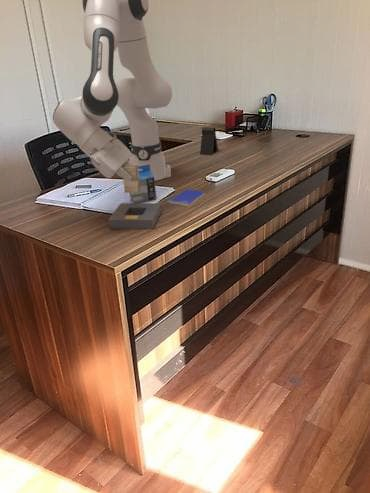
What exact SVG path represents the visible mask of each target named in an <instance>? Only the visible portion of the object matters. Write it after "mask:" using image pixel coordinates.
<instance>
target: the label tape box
mask: <svg viewBox="0 0 370 493" xmlns="http://www.w3.org/2000/svg"><path fill="white" fill-rule="evenodd" d="M138 169H143V170H142V171H139V180H140V190H139V191H138V192H137V193H129V198H130V202H131V203H138V202H139V203H143V201H144V202H148V201H147V200H149V201H152V199H153V200H156V199H157V193H156V181H155V180H154V176H153V174H152V173H151V171H150V164H149V165H143V166H138Z"/></svg>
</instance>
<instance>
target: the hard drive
mask: <svg viewBox="0 0 370 493" xmlns="http://www.w3.org/2000/svg"><path fill="white" fill-rule="evenodd" d="M205 194H206V192H205V191H200V190H193V189H185V190H183V191H181V192H179V193H178V194H177V195H175V196H174V197H172V198H171V199H168V203H169V204H175V205H179V206H180V205H182V206H187V207H189V206H190V205H192V204H193V203H195V202H197V201H198V200H199V199H200V198H202V197H204V196H205Z"/></svg>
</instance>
